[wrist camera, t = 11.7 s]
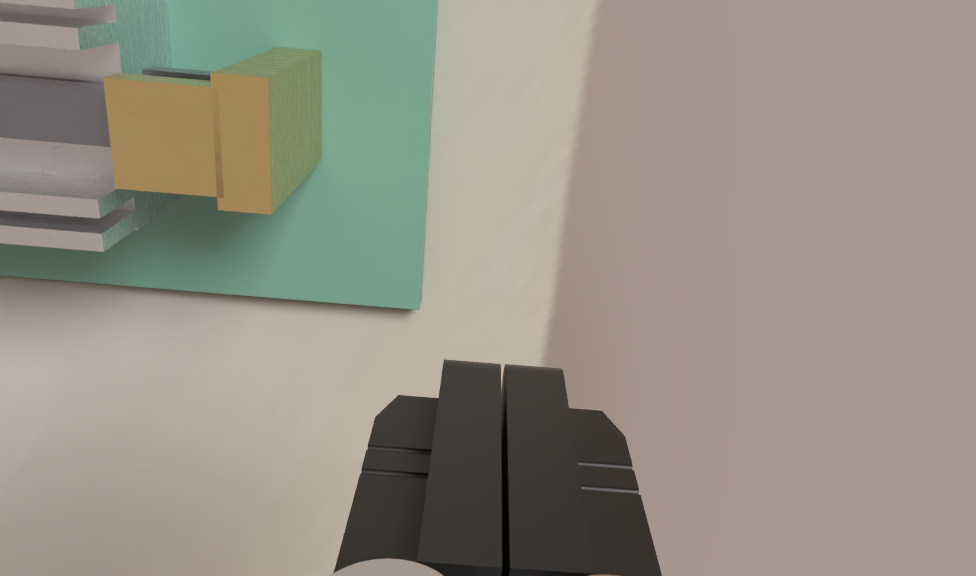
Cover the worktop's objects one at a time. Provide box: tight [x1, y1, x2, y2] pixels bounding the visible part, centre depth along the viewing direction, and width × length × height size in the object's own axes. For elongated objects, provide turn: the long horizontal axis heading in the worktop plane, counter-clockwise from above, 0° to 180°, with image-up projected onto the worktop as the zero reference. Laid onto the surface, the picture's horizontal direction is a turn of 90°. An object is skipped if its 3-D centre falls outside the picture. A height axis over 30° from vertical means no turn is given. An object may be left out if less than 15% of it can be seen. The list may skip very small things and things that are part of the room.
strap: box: [0, 66, 213, 147], centre depth 24 cm, size 3×12×1 cm, turn 85°
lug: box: [103, 47, 321, 215], centre depth 25 cm, size 4×5×7 cm
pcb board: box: [0, 0, 438, 310], centre depth 29 cm, size 16×24×1 cm, turn 85°
